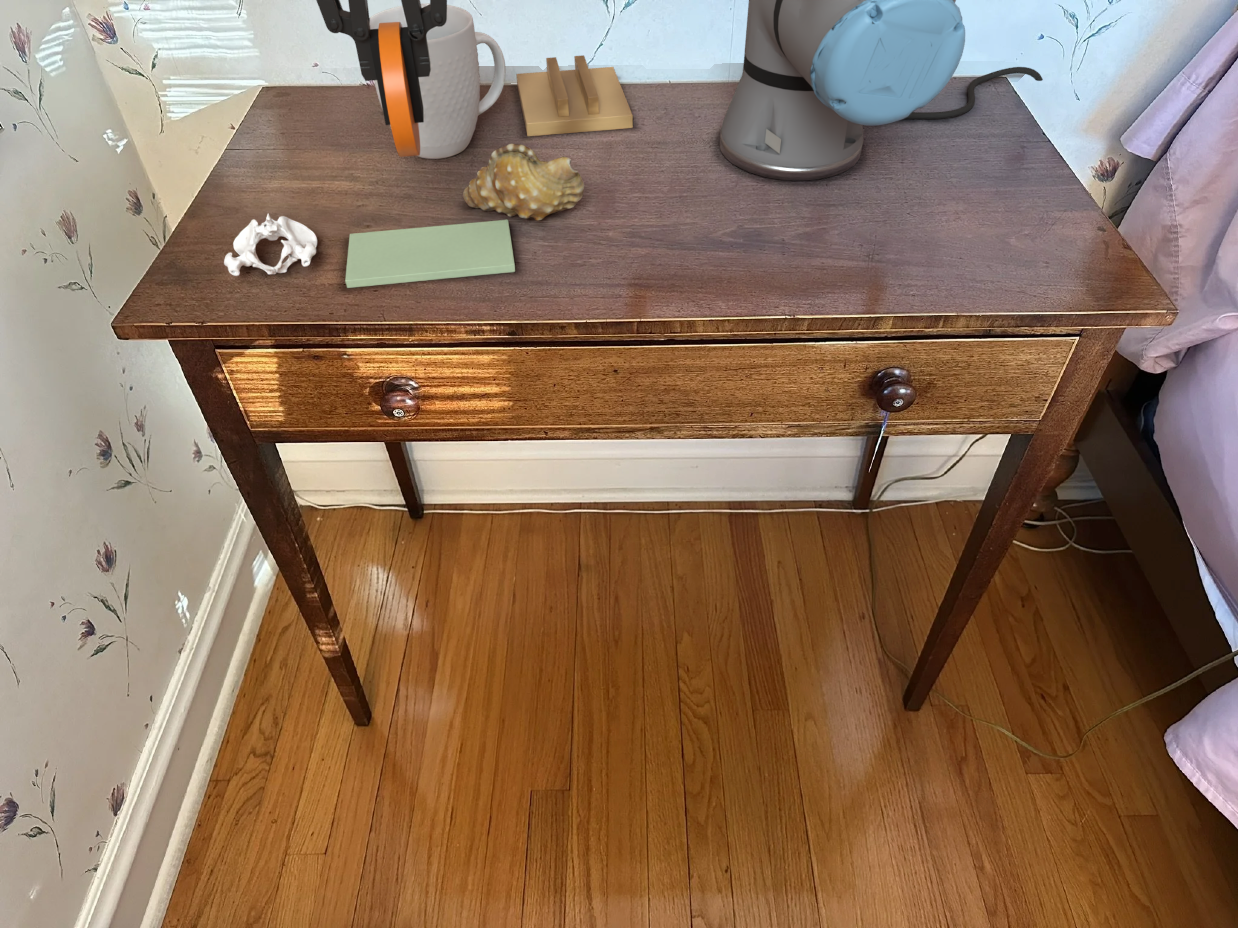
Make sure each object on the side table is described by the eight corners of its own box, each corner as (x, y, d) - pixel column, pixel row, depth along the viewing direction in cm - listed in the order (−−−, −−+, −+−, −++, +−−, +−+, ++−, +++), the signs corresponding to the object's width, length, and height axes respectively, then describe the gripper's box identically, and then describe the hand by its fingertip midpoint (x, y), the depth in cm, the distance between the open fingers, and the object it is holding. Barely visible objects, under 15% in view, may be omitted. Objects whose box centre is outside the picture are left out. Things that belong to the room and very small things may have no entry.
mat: (508, 226, 87) (508, 219, 86) (515, 272, 81) (514, 264, 81) (351, 241, 85) (349, 233, 85) (347, 288, 80) (345, 280, 79)
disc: (419, 122, 80) (399, 2, 72) (420, 178, 73) (398, 51, 66) (401, 124, 79) (379, 4, 72) (400, 179, 73) (376, 53, 65)
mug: (482, 106, 106) (468, -13, 97) (536, 138, 100) (526, 14, 91) (369, 143, 100) (342, 19, 90) (420, 180, 94) (397, 51, 84)
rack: (613, 79, 112) (613, 50, 109) (632, 128, 102) (632, 97, 99) (517, 86, 110) (514, 57, 108) (527, 136, 101) (524, 106, 98)
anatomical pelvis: (215, 254, 77) (220, 210, 81) (231, 293, 80) (236, 248, 84) (310, 243, 78) (311, 199, 82) (322, 281, 81) (323, 238, 85)
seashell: (570, 191, 93) (488, 243, 92) (531, 118, 89) (445, 171, 88) (597, 201, 85) (508, 257, 84) (556, 121, 81) (462, 179, 80)
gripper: (454, -256, 61) (491, 91, 77) (230, -250, 59) (317, 104, 76) (458, -239, 55) (496, 130, 72) (212, -232, 54) (310, 144, 71)
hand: (404, 116), depth 74 cm, fingers closed on disc, 2 cm apart
